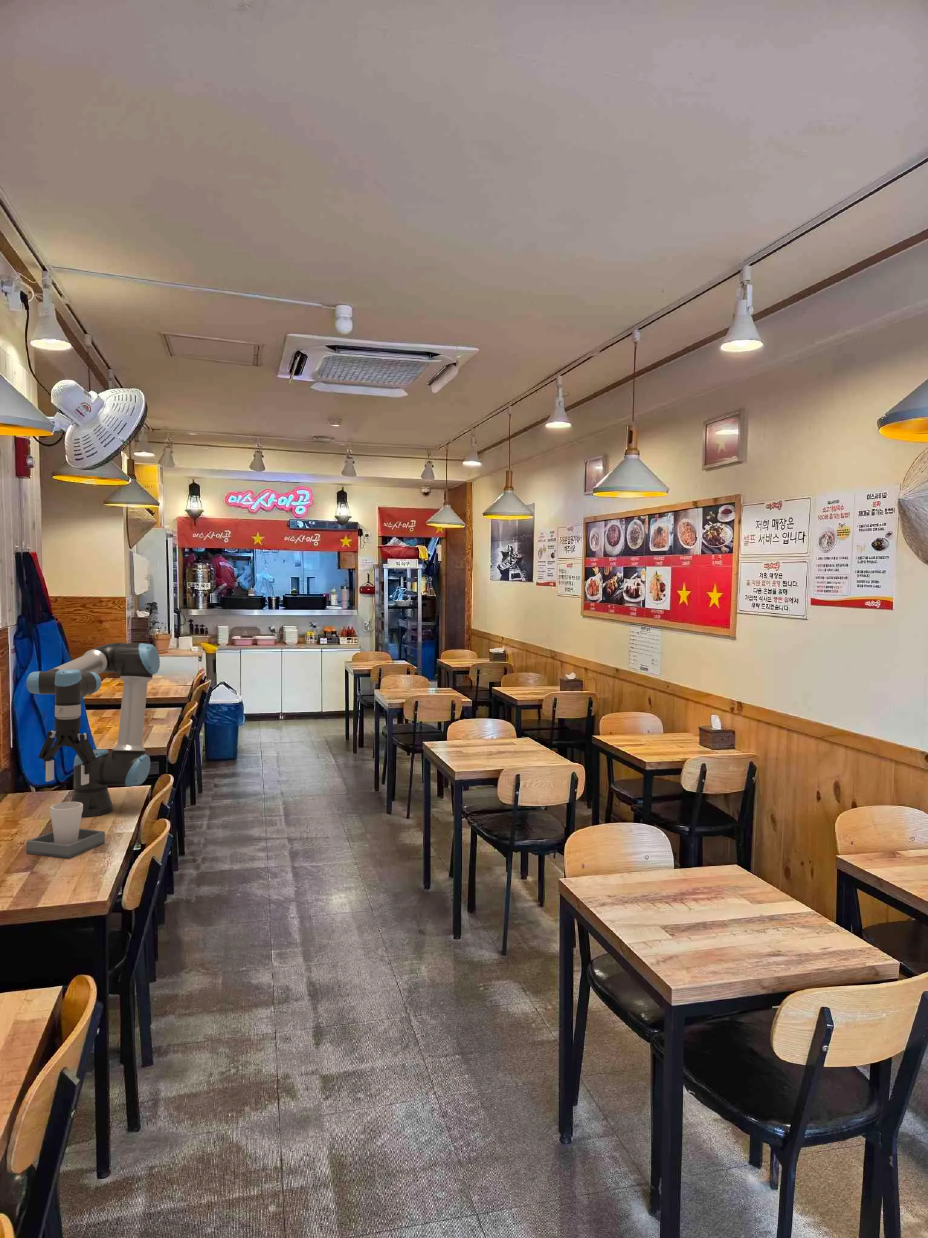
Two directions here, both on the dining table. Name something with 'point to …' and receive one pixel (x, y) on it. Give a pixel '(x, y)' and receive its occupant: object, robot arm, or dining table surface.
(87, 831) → the tray
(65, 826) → the foam cup
